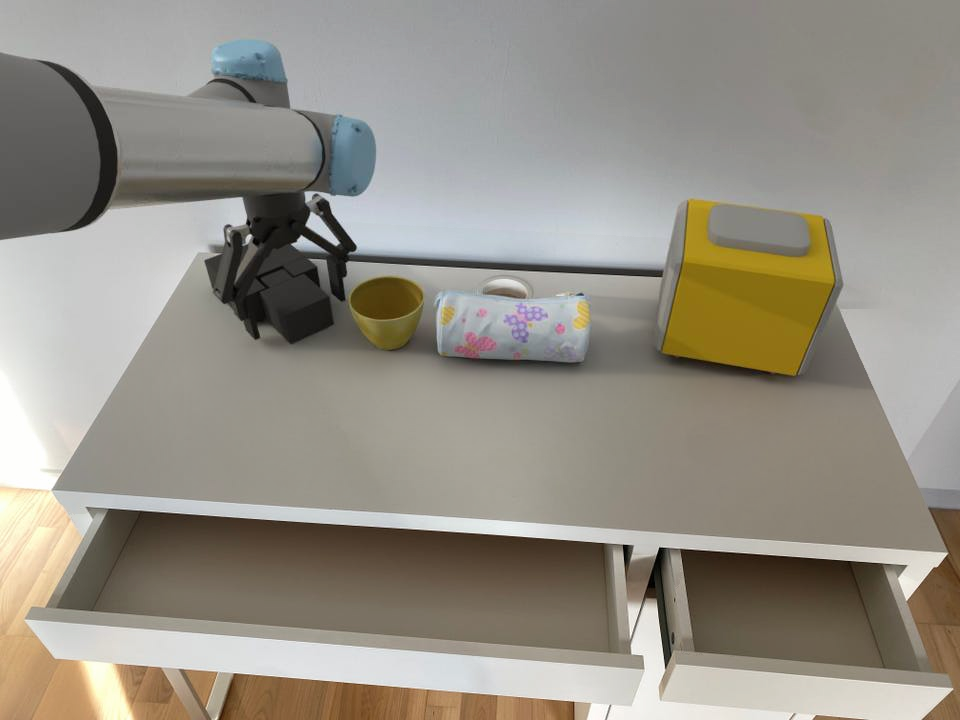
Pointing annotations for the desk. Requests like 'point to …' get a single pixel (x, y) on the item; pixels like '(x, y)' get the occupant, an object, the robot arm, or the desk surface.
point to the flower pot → (387, 310)
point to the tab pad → (295, 305)
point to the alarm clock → (747, 286)
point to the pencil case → (513, 326)
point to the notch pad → (269, 272)
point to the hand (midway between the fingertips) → (297, 315)
